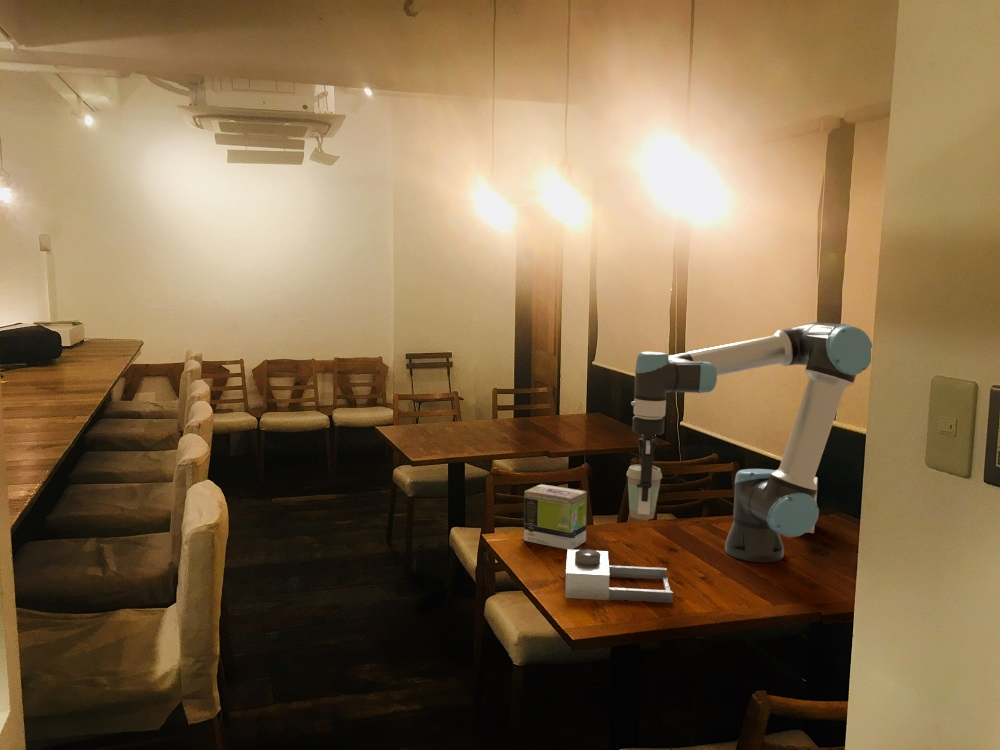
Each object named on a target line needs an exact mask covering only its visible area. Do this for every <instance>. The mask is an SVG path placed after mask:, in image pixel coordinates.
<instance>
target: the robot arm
mask: <svg viewBox="0 0 1000 750" xmlns="http://www.w3.org/2000/svg"><path fill="white" fill-rule="evenodd" d="M872 346H873V343H872V341H871V339H870V337H869V335H868V334H867V333H866V332H865V331H864V330H863V329H861V328H860V327H856V326H854V325H853V326H852V325H850V324H845V323H843V324H842V323H831V322H830V323H829V322H822V321H818V322H817V321H815V322H809V323H806V324H801V325H797V326H792V327H788V328H784V329H780V330H779V329H778V330H776V331H775V332H774V333H773V335H769V336H764V337H763V336H762V337H760V338H759V337H758V338H752V339H749V340H748V339H747V340H743V341H737V342H733V343H728V344H723V345H718V346H713V347H709V348H702V349H698V350H697V349H696V350H692V351H687V352H681V353H677V354H669V353H666V352H661V351H641V352H639V353H638V354H637V356H636V363H635V369H634V371H635V374H634V375H635V377H634V396H633V397H634V401H631V403H630V405H631V406H632V407H633V412H632V413H633V414H634V416H633V417H632V426H631V430H632V432H634V433H636V434H638V435H640V434H641V435H640V438H638V448H639V449H638V454H639V465H641V479H640V485H639V484H637V487H639V500H638V514H648V515H649V511H650V495H651V486H652V484H651V480H652V466H653V460H654V459H655V449H656V448H657V444H656V443H657V442H656V439H653V438H654V437H653V436H655V435H656V436H659V435H662V434H664V433H665V416H666V410H667V409H666V406H667V393H691V394H692V393H694V394H697V393H698V394H702V393H711V392H712V391H713V390H714V389H715V387H716V386H717V381H718V376H725V375H728V374H733V373H739V372H744V371H749V370H752V369H758V368H759V369H760V368H764V367H769V366H774V365H781V366H782V367H788V366H796V365H801V366H806V367H805V370H804V371H805V373H806V375H807V377H808V381H807V384H806V387H805V389H804V393H803V395H802V399H801V402H800V406H799V407H798V411H797V413H796V416H795V420H794V422H793V426H792V428H791V430H790V434H789V438H788V440H787V444H786V446H785V449H784V452H783V455H782V458H781V460H780V464H779V467H778V468H777V469H767V468H746V469H745V468H744V469H740V470H738V471H737V472H736V474H735V478H734V483H733V484H734V496H733V497H734V498H733V518H732V519H733V521H732V525H731V528H730V529H729V532H728V535H727V537H726V538H725V539H726V540H725V544H724V545H725V547H724V551H725V553H727V554H728V555H729V556H731V557H732V558H735V559H739V560H741V561H746V562H753V563H763V564H764V563H774V562H779V561H781V560H783V558H784V555H785V553H784V552H785V551H784V550H785V548H784V544H783V541H782V537H781V535H782V536H785V537H789V538H795V537H800V536H802V535H804V534H806V533H807V532H808V531H809V530H811V529H812V527H813V526H814V525H816V523H817V522H818V518H819V516H820V515H819V514H820V510H819V506H818V503H817V500H816V501H815V500H814V498H815V495H816V492H817V493H818V486H817V487H816V485H815V483H814V477H816V474H817V471H818V469H819V466H820V462H821V459H822V457H823V456H822V455H823V453H824V450H825V448H826V444H827V442H828V440H829V439H828V438H829V436H830V433H831V429H832V427H833V423H834V421H835V419H836V415H837V413H838V409H839V406H840V403H841V400H842V397H843V394H844V391H845V389H847V388H849V387H850V386H853V385H854V383H855V380H856V378H857V375H858V374H861V373H862V372H863V371H866V370H867V369H868V368H869V367H870V365H871V363H872V361H871V348H872ZM644 481H645V482H644Z"/></svg>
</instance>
